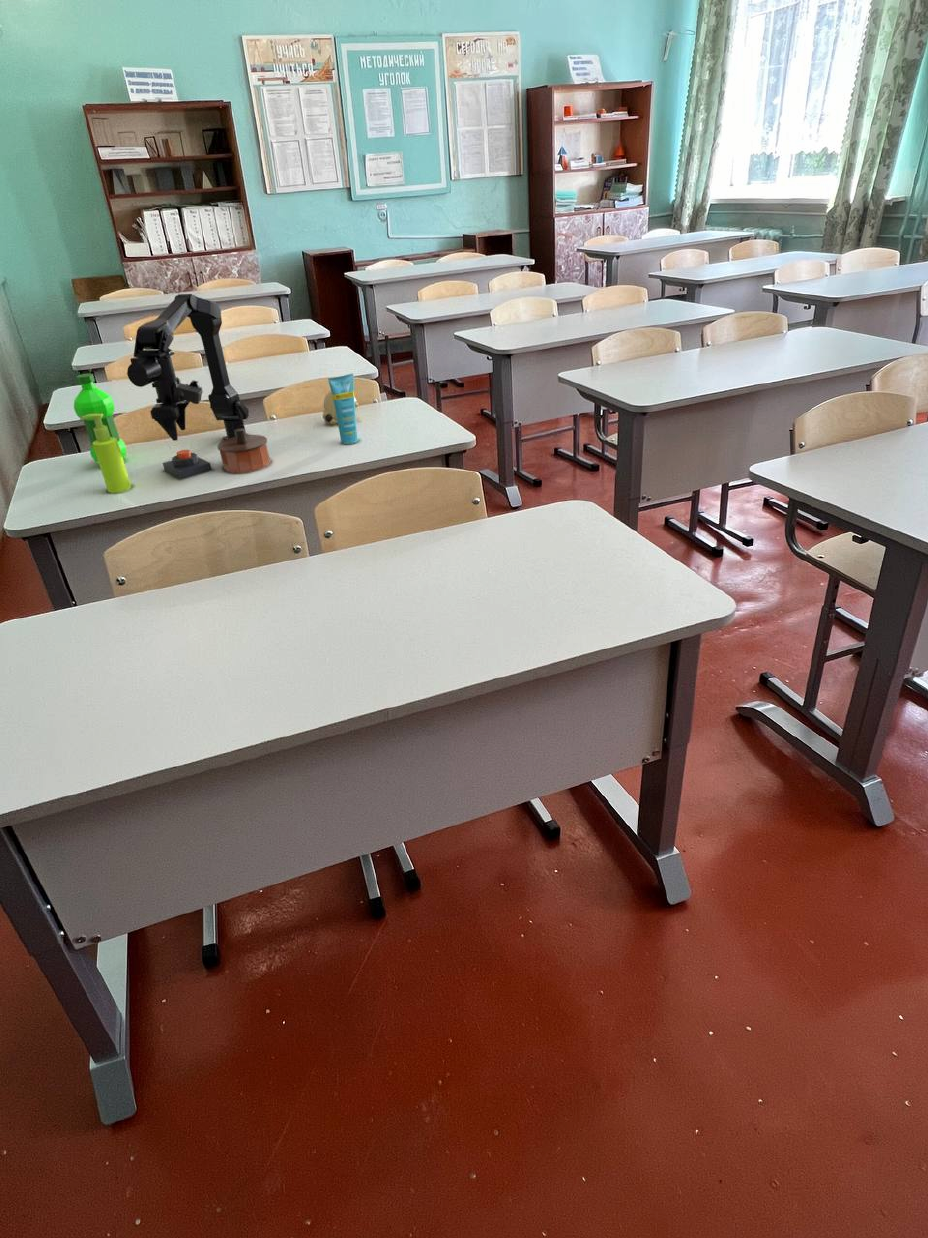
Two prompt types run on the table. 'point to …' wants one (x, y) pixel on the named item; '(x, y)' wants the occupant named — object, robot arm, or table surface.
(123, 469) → the soap dispenser
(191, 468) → the box
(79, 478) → the table surface
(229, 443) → the lid
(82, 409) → the plastic bottle
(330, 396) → the toy pig
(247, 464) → the round brown pot
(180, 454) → the button
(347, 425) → the tube
